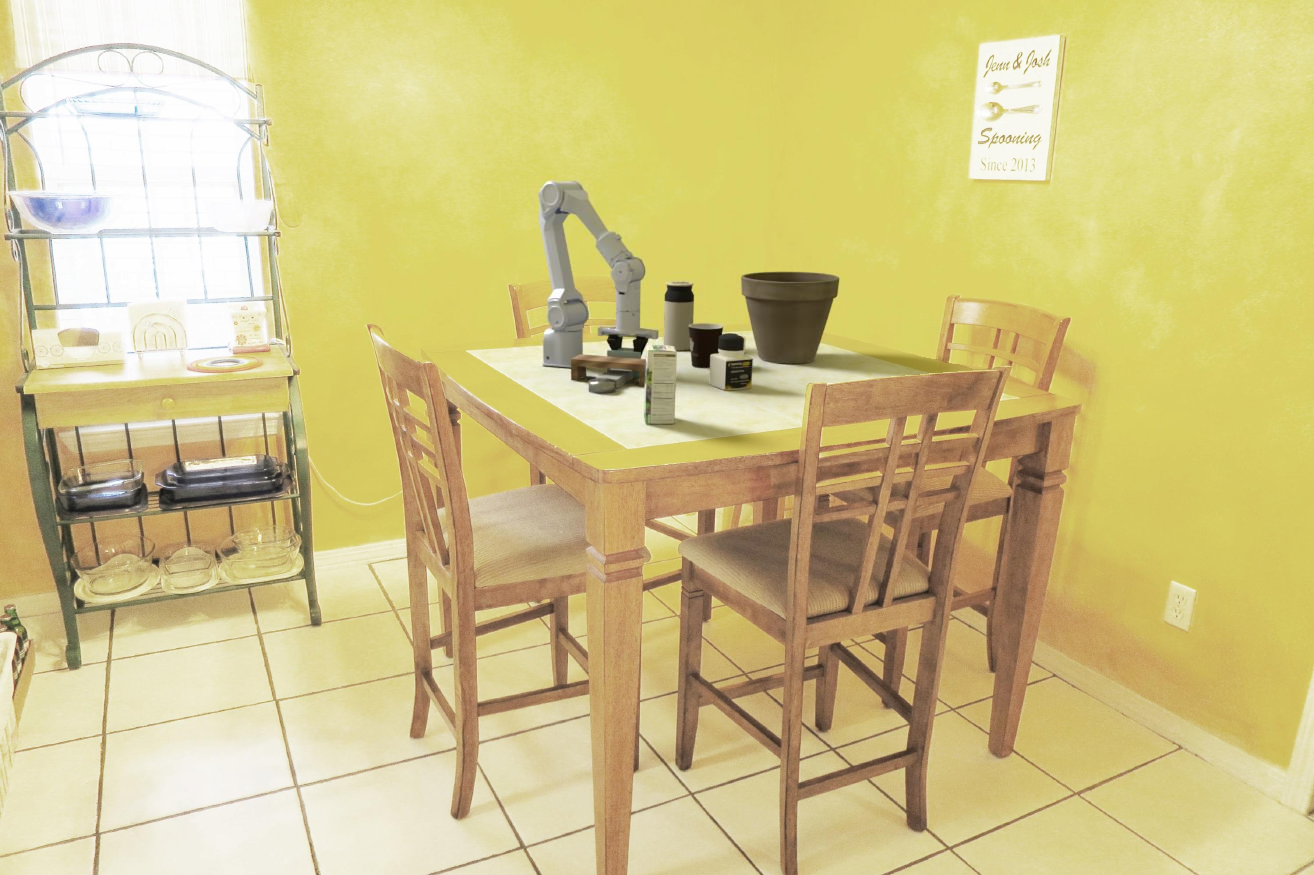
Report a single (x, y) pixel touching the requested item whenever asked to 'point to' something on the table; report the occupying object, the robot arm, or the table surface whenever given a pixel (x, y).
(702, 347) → the coffee mug
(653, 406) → the syrup box
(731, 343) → the medicine bottle
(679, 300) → the travel mug
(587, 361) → the riser shelf
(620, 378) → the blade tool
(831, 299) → the plant pot
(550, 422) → the table surface
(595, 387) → the token
